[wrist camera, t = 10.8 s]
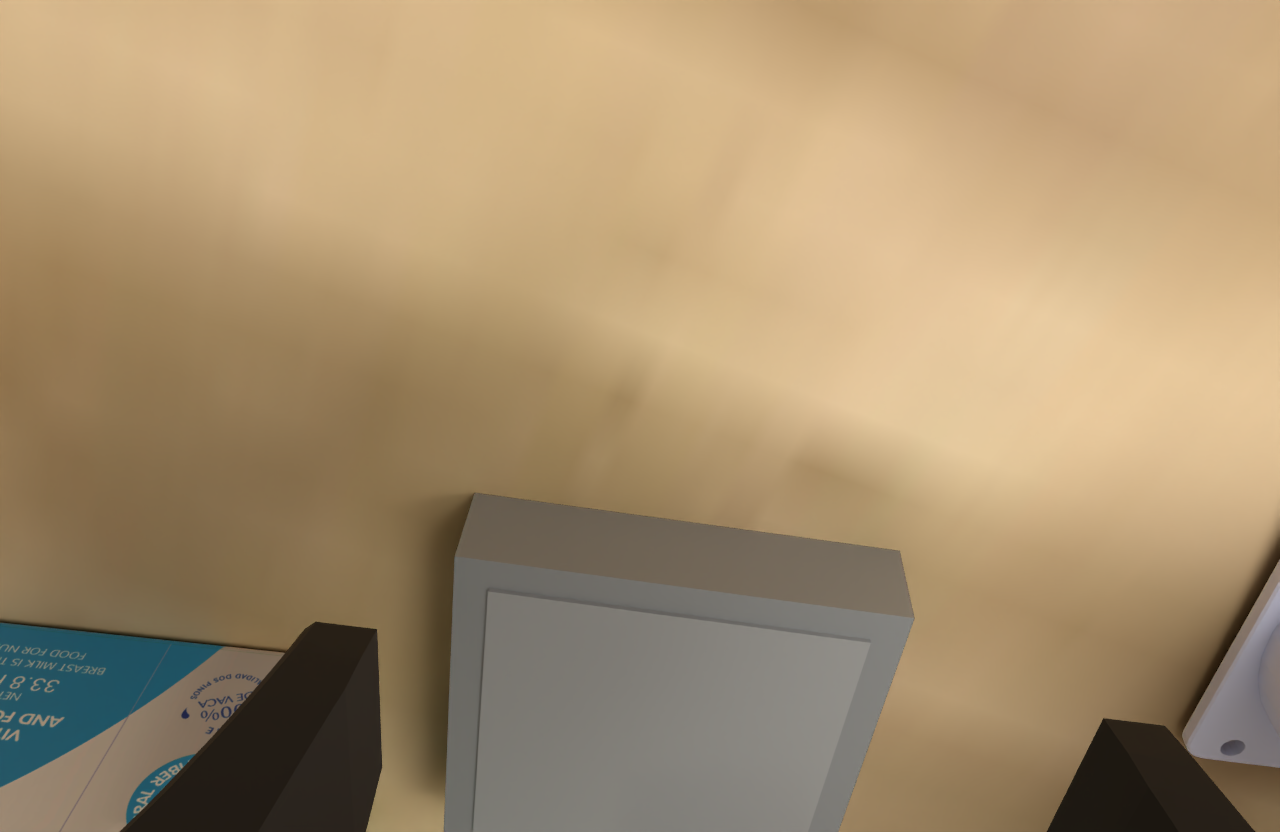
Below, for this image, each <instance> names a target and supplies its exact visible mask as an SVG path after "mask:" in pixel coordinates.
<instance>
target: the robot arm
mask: <svg viewBox="0 0 1280 832" xmlns="http://www.w3.org/2000/svg"><path fill="white" fill-rule="evenodd" d="M1182 738H1183V741H1184V743H1185V745H1186V747H1187V750H1188V752H1189V753H1191V754H1192V755H1193V756H1196V757H1199V758H1204V759H1212V760H1220V761H1228V762H1236V763H1245V764H1253V765H1261V766H1269V767H1277V768H1280V560H1279V562H1278V563H1277V565H1276V567H1275V569H1274V570H1273V572H1272V574H1271V576H1270V577H1269V579H1268V581H1267V583H1266V585H1265V586H1264V588H1263V590H1262V592H1261V593H1260V595H1259V597H1258V599H1257V601H1256V602H1255V604H1254V606H1253V608H1252V609H1251V611H1250V613H1249V615H1248V617H1247V618H1246V620H1245V622H1244V624H1243V625H1242V627H1241V629H1240V631H1239V632H1238V634H1237V636H1236V638H1235V640H1234V641H1233V643H1232V645H1231V647H1230V648H1229V650H1228V652H1227V654H1226V656H1225V657H1224V659H1223V661H1222V663H1221V664H1220V666H1219V668H1218V670H1217V672H1216V673H1215V675H1214V677H1213V679H1212V680H1211V682H1210V684H1209V686H1208V687H1207V689H1206V691H1205V693H1204V695H1203V696H1202V698H1201V700H1200V702H1199V703H1198V705H1197V707H1196V709H1195V711H1194V712H1193V714H1192V716H1191V718H1190V719H1189V721H1188V723H1187V725H1186V727H1185V728H1184V730H1183V734H1182ZM1188 752H1187V751H1186V749H1185V748H1184V747H1183V746H1182V745H1181V744H1180V742H1179V741H1178V740H1177V739H1176V738H1175V737H1174V736H1173V734H1172V733H1171V732H1170V731H1169V730H1168V729H1167V728H1166V727H1165V726H1161V725H1153V724H1145V723H1137V722H1129V721H1121V720H1112V719H1104V718H1103V720H1102V722H1101V724H1100V726H1099V728H1098V730H1097V732H1096V734H1095V736H1094V738H1093V740H1092V742H1091V744H1090V746H1089V748H1088V750H1087V752H1086V754H1085V756H1084V758H1083V760H1082V762H1081V764H1080V766H1079V768H1078V770H1077V772H1076V774H1075V776H1074V778H1073V780H1072V782H1071V784H1070V786H1069V788H1068V790H1067V792H1066V794H1065V796H1064V798H1063V800H1062V802H1061V804H1060V806H1059V808H1058V810H1057V812H1056V814H1055V816H1054V819H1053V821H1052V823H1051V825H1050V827H1049V829H1048V831H1047V832H1255V831H1254V830H1253V829H1252V828H1251V826H1250V825H1249V824H1248V823H1247V822H1246V820H1245V819H1244V818H1243V817H1242V816H1241V815H1240V813H1239V812H1238V811H1237V810H1236V809H1235V807H1234V806H1233V805H1232V804H1231V803H1230V801H1229V800H1228V799H1227V798H1226V797H1225V795H1224V794H1223V793H1222V792H1221V791H1220V789H1219V788H1218V787H1217V786H1216V785H1215V784H1214V782H1213V781H1212V780H1211V779H1210V778H1209V776H1208V775H1207V774H1206V773H1205V772H1204V770H1203V769H1202V768H1201V767H1200V766H1199V765H1198V763H1197V762H1196V761H1195V760H1194V759H1193V758H1192V756H1191V755H1190V754H1189V753H1188ZM381 769H382V751H381V724H380V696H379V669H378V641H377V629H370V628H361V627H353V626H345V625H337V624H329V623H321V622H315V623H313V624H312V625H310V626H309V627H307V628H306V629H305V630H304V631H303V632H302V633H301V634H300V636H299V637H298V638H297V639H296V641H295V642H294V643H293V644H292V646H291V647H290V648H289V649H288V650H287V652H286V653H285V654H284V655H283V656H282V658H281V659H280V660H279V661H278V662H277V664H276V665H275V666H274V667H273V668H272V670H271V671H270V672H269V673H268V674H267V675H266V677H265V678H264V679H263V680H262V681H261V682H260V684H259V685H258V686H257V687H256V688H255V689H254V690H253V692H252V693H251V694H250V695H249V696H248V697H247V698H246V700H245V701H244V702H243V703H242V704H241V705H240V706H239V707H238V709H237V710H236V711H235V712H234V713H233V714H232V715H231V716H230V717H229V719H228V720H227V721H226V722H225V723H224V724H223V725H222V726H221V728H220V729H219V730H218V731H217V732H216V733H215V734H214V735H213V736H212V737H211V738H210V739H209V740H208V742H207V743H206V744H205V745H204V746H203V747H202V748H201V749H200V750H199V751H198V752H197V753H196V754H195V755H194V756H193V757H192V758H191V759H190V761H189V762H188V763H187V764H186V765H185V766H184V767H183V768H182V769H181V770H180V771H179V772H178V773H177V774H176V775H175V776H174V777H173V778H172V780H171V781H170V782H169V783H168V784H167V785H166V786H165V787H164V788H163V789H162V790H161V791H160V792H159V793H158V794H157V795H156V796H155V797H154V798H153V799H152V800H151V801H150V802H149V803H148V804H147V805H146V806H145V807H144V808H143V809H142V810H141V811H140V812H139V813H138V814H137V815H136V816H135V817H134V818H133V819H132V820H131V821H130V822H129V823H128V824H127V825H126V826H125V827H124V828H123V829H122V830H121V831H119V832H366V828H367V825H368V821H369V817H370V813H371V809H372V805H373V801H374V797H375V793H376V789H377V785H378V781H379V777H380V773H381Z"/></svg>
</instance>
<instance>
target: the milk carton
mask: <svg viewBox="0 0 1280 832" xmlns="http://www.w3.org/2000/svg"><path fill="white" fill-rule="evenodd" d="M284 654H285V653H283V652H274V651H265V650H255V649H246V648H236V647H227V646H217V645H208V644H198V643H189V642H180V641H170V640H161V639H151V638H142V637H132V636H123V635H113V634H104V633H95V632H85V631H76V630H66V629H57V628H47V627H38V626H29V625H19V624H10V623H0V832H119V831H121V830H122V829H123V828H124V827H125V826H126V825H127V824H128V823H129V822H130V821H131V820H132V819H133V818H134V817H135V816H136V815H137V814H138V813H139V812H140V811H141V810H142V809H143V808H144V807H145V806H146V805H147V804H148V803H149V802H150V801H151V800H152V799H153V798H154V797H155V796H156V795H157V794H158V793H159V792H160V791H161V790H162V789H163V788H164V787H165V786H166V785H167V784H168V783H169V782H170V781H171V780H172V778H173V777H174V776H175V775H176V774H177V773H178V772H179V771H180V770H181V769H182V768H183V767H184V766H185V765H186V764H187V763H188V762H189V761H190V759H191V758H192V757H193V756H194V755H195V754H196V753H197V752H198V751H199V750H200V749H201V748H202V747H203V746H204V745H205V744H206V743H207V742H208V740H209V739H210V738H211V737H212V736H213V735H214V734H215V733H216V732H217V731H218V730H219V729H220V728H221V726H222V725H223V724H224V723H225V722H226V721H227V720H228V719H229V717H230V716H231V715H232V714H233V713H234V712H235V711H236V710H237V709H238V707H239V706H240V705H241V704H242V703H243V702H244V701H245V700H246V698H247V697H248V696H249V695H250V694H251V693H252V692H253V690H254V689H255V688H256V687H257V686H258V685H259V684H260V682H261V681H262V680H263V679H264V678H265V677H266V675H267V674H268V673H269V672H270V671H271V670H272V668H273V667H274V666H275V665H276V664H277V662H278V661H279V660H280V659H281V658H282V656H283V655H284Z"/></svg>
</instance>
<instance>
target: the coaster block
mask: <svg viewBox="0 0 1280 832" xmlns="http://www.w3.org/2000/svg"><path fill="white" fill-rule="evenodd" d="M913 621H914V614H913V609H912V605H911V600H910V595H909V591H908V586H907V582H906V577H905V573H904V568H903V564H902V559H901V554H900V551H897V550H890V549H882V548H875V547H868V546H861V545H853V544H846V543H839V542H831V541H824V540H817V539H809V538H802V537H795V536H787V535H780V534H773V533H765V532H758V531H751V530H743V529H736V528H729V527H722V526H714V525H707V524H700V523H692V522H685V521H678V520H670V519H663V518H656V517H648V516H641V515H634V514H626V513H619V512H612V511H604V510H597V509H590V508H582V507H575V506H568V505H561V504H553V503H546V502H539V501H531V500H524V499H517V498H509V497H502V496H495V495H487V494H480V493H474V496H473V500H472V503H471V506H470V509H469V512H468V515H467V519H466V522H465V525H464V528H463V531H462V534H461V538H460V541H459V544H458V547H457V550H456V553H455V559H454V585H453V611H452V636H451V662H450V687H449V713H448V738H447V764H446V790H445V815H444V832H838V831H839V828H840V825H841V823H842V820H843V817H844V814H845V811H846V809H847V806H848V803H849V800H850V797H851V795H852V792H853V789H854V786H855V783H856V781H857V778H858V775H859V772H860V769H861V767H862V764H863V761H864V758H865V755H866V753H867V750H868V747H869V744H870V741H871V739H872V736H873V733H874V730H875V727H876V725H877V722H878V719H879V716H880V713H881V711H882V708H883V705H884V702H885V699H886V697H887V694H888V691H889V688H890V685H891V683H892V680H893V677H894V674H895V671H896V669H897V666H898V663H899V660H900V657H901V655H902V652H903V649H904V646H905V643H906V641H907V638H908V635H909V632H910V629H911V627H912V624H913Z"/></svg>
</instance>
